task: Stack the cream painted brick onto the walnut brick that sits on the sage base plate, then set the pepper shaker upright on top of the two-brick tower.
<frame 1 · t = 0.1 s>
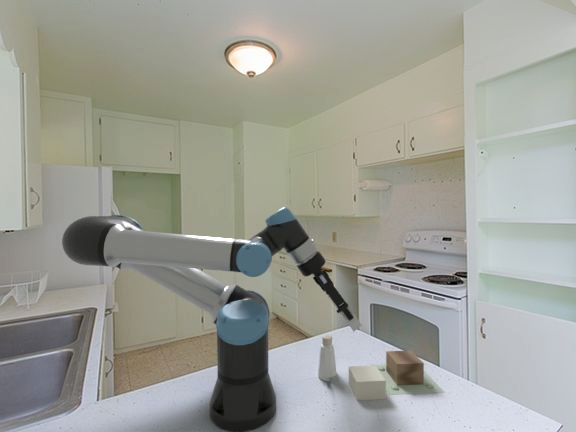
hand: (350, 319, 84), 15 cm above the counter, tool tilted 35°, fingers open, 13 cm apart
pepper shaker: (327, 376, 82), on the counter
base plate: (404, 381, 80), on the counter
brick a: (404, 377, 79), point 1 cm above the counter, touching base plate
brick b: (366, 395, 74), on the counter
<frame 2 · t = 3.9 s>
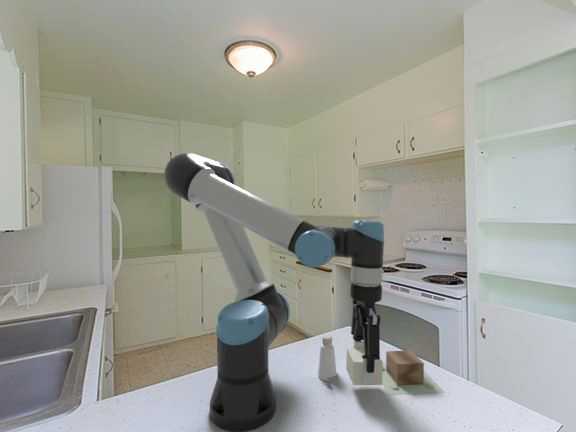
hand: (363, 374, 74), 5 cm above the counter, tool pointing down, fingers closed on brick b, 7 cm apart
brick b: (363, 376, 74), point 4 cm above the counter, touching gripper
everything else where it was.
when the fingers open (7 cm above the counter, at t = 7.6 s): brick b stays where it is, resting on brick a.
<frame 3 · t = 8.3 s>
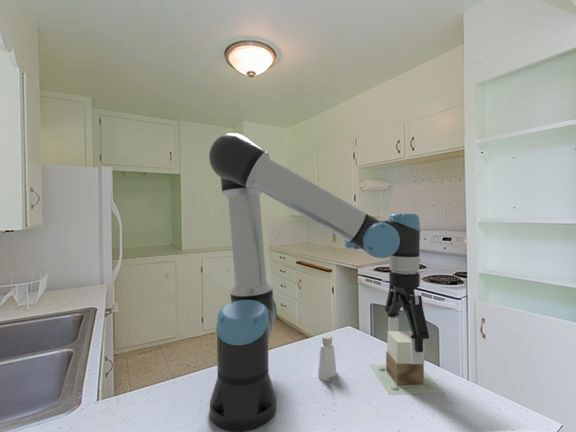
hand: (404, 350, 79), 8 cm above the counter, tool pointing down, fingers open, 13 cm apart
brick a: (404, 377, 79), point 1 cm above the counter, touching base plate, brick b
brick b: (405, 356, 79), point 6 cm above the counter, touching brick a
everything else where it was.
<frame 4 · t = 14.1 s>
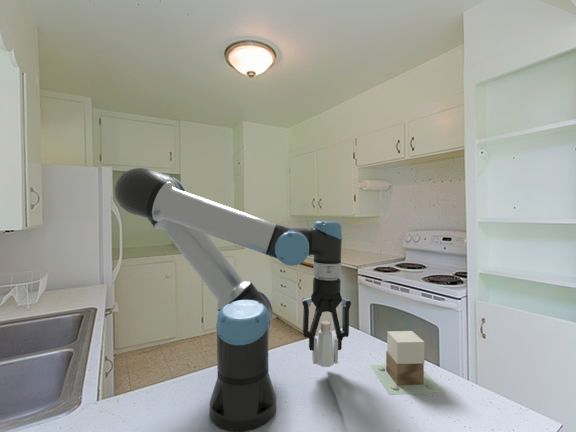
hand: (324, 361, 82), 4 cm above the counter, tool pointing down, fingers closed on pepper shaker, 5 cm apart
pepper shaker: (324, 362, 82), point 4 cm above the counter, touching gripper
everything else where it was.
when the fingers open (13 cm above the counter, at t = 19.2 s): pepper shaker stays where it is, resting on brick b.
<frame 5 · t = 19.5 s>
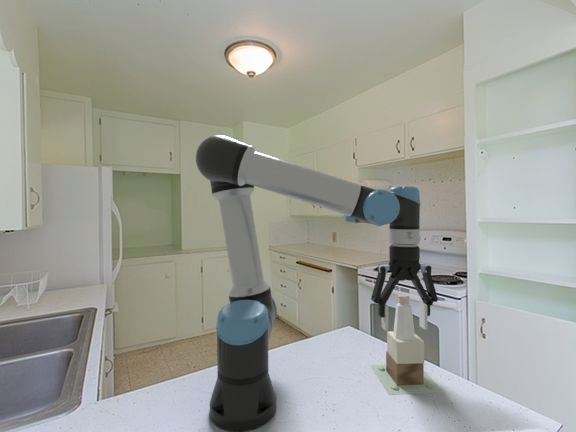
hand: (404, 328, 79), 14 cm above the counter, tool pointing down, fingers open, 10 cm apart
pepper shaker: (403, 337, 79), point 12 cm above the counter, touching brick b
brick b: (404, 356, 79), point 7 cm above the counter, touching brick a, pepper shaker
everything else where it was.
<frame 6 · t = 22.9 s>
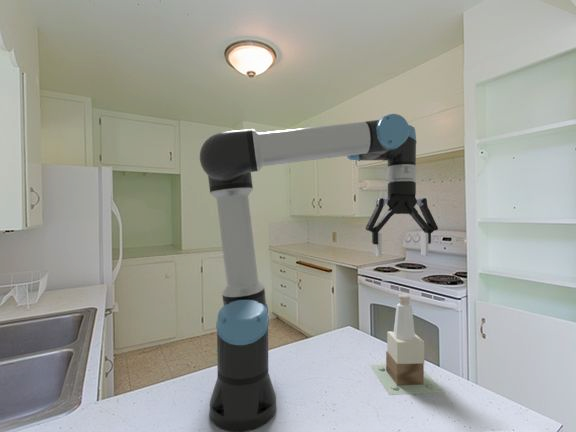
hand: (401, 255, 85), 33 cm above the counter, tool pointing down, fingers open, 13 cm apart
nothing on the counter moved.
at the end: brick b 0.2 cm off-centre on the brick a, point 5.5 cm above the brick a's base; pepper shaker inside the target area on the brick b (0.2 cm from its centre), point 5.3 cm above the brick b's base; pepper shaker tilted 0° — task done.
